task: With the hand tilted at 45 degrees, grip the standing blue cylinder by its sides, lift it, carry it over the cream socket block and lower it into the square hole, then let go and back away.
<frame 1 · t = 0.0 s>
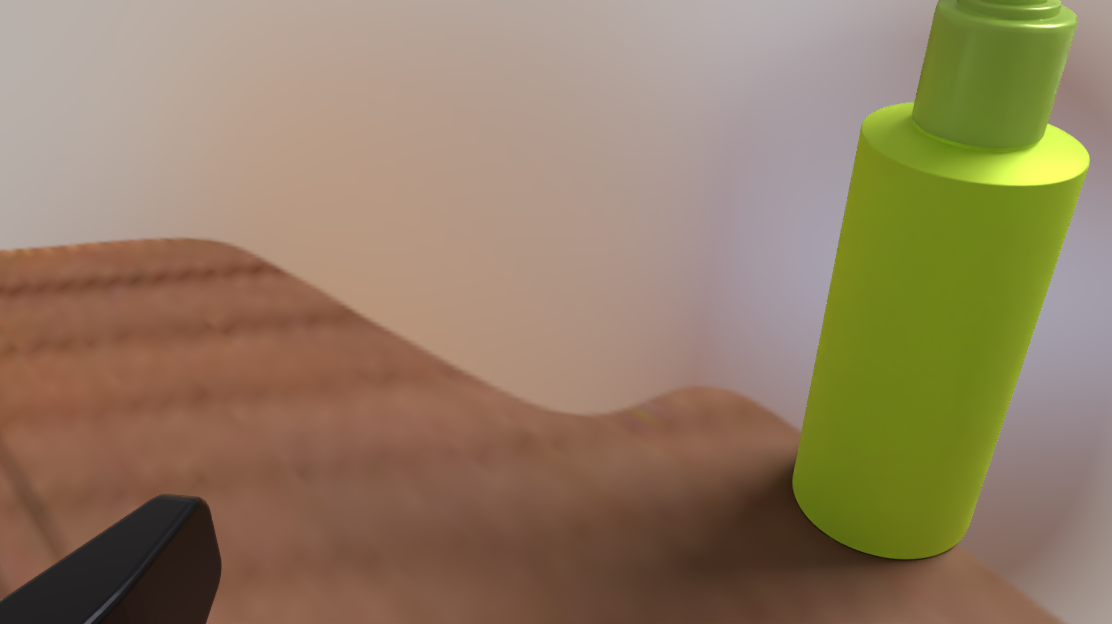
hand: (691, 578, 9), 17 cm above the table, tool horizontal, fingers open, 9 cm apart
soap dispenser: (876, 490, 34), on the table
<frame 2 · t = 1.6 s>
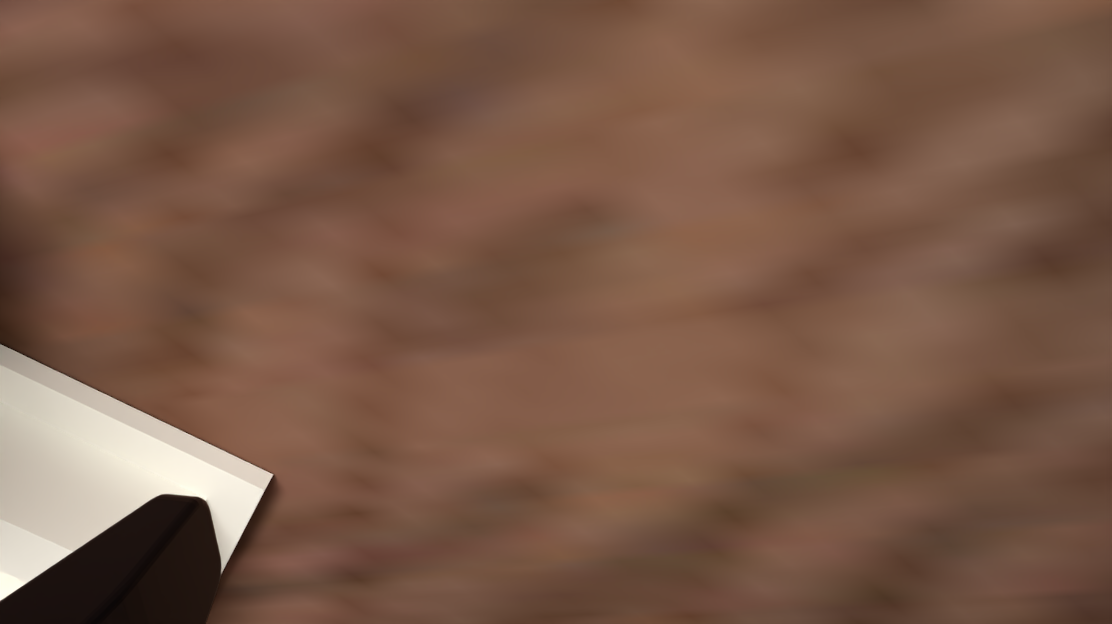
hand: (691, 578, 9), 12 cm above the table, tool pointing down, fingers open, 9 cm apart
socket: (7, 514, 28), on the table
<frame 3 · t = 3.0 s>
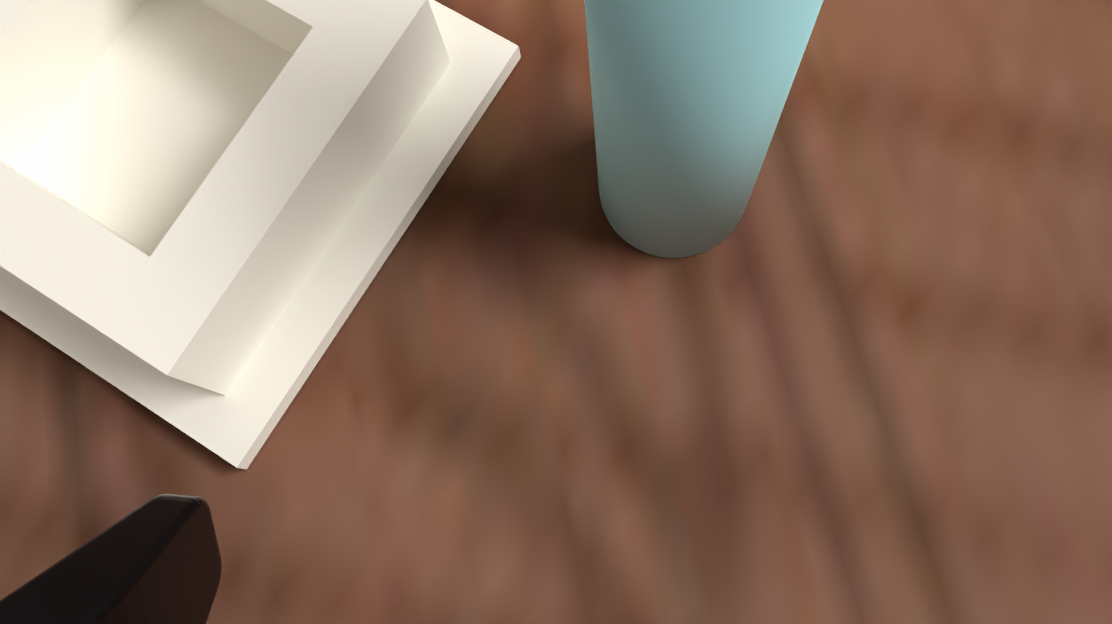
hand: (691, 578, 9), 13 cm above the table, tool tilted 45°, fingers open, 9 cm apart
socket: (194, 138, 25), on the table
blue cylinder: (673, 186, 24), on the table
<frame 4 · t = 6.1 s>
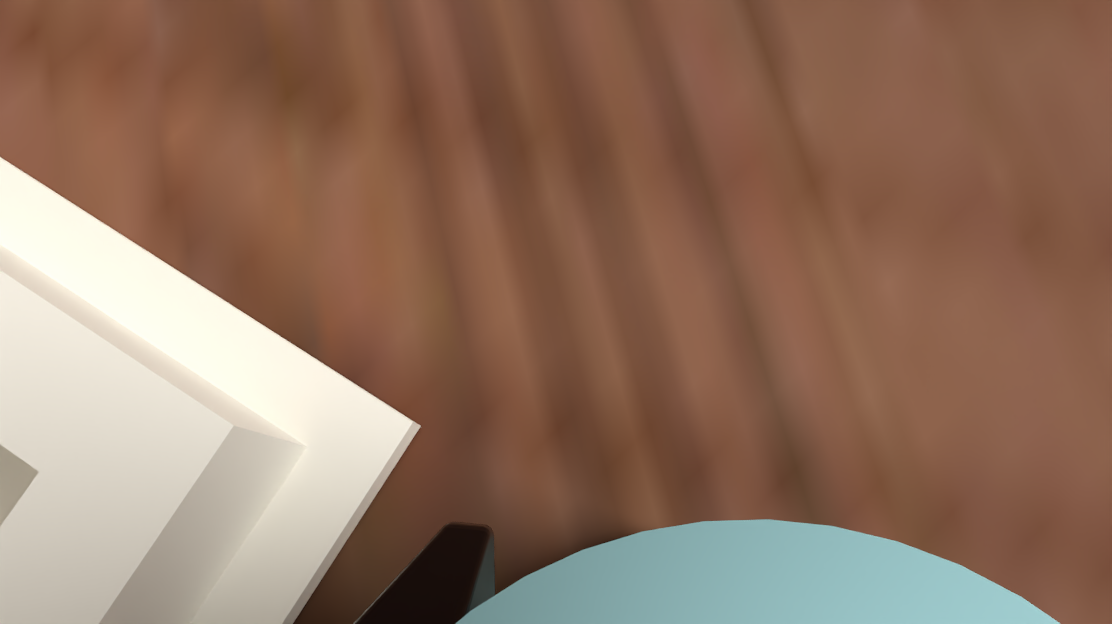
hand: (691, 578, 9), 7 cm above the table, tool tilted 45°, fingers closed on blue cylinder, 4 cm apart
when the fingers open (9 cm above the table, at t = 9.5 s): blue cylinder drops 1 cm, resting on socket.
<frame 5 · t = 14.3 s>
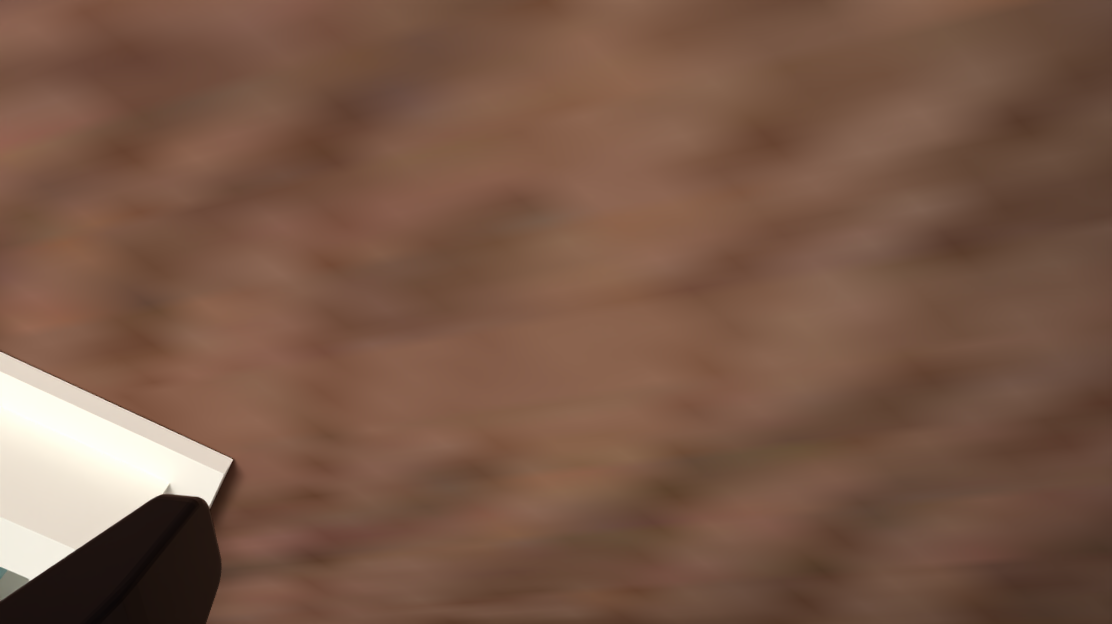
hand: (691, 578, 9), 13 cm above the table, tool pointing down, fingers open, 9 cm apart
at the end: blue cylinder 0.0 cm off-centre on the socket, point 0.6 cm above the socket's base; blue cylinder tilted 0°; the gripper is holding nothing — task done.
